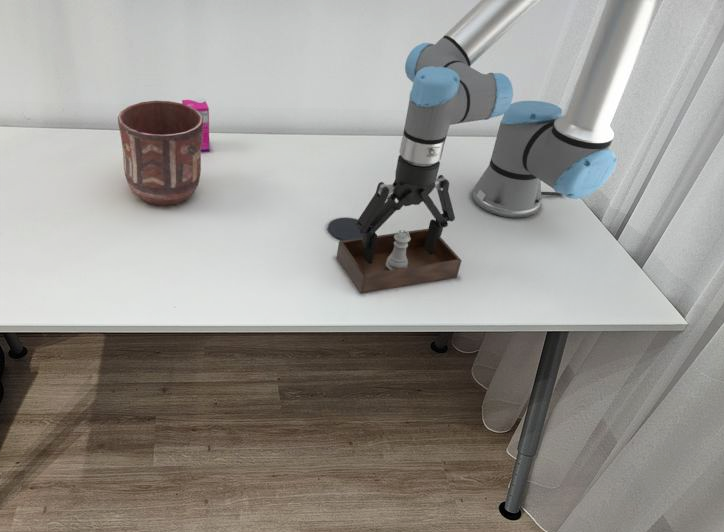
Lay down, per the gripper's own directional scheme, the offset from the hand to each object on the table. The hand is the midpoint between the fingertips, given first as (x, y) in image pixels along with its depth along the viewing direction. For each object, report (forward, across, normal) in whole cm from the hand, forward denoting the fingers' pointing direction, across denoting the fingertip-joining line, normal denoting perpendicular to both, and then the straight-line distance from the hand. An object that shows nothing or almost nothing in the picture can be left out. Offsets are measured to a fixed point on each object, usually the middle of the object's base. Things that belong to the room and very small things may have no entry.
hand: (398, 255), depth 145 cm
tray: (+3, 0, 0) cm, 3 cm away
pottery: (+4, -39, +40) cm, 56 cm away
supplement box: (+3, -26, +60) cm, 66 cm away
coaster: (+3, -4, +15) cm, 16 cm away
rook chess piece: (+3, 0, 0) cm, 3 cm away
